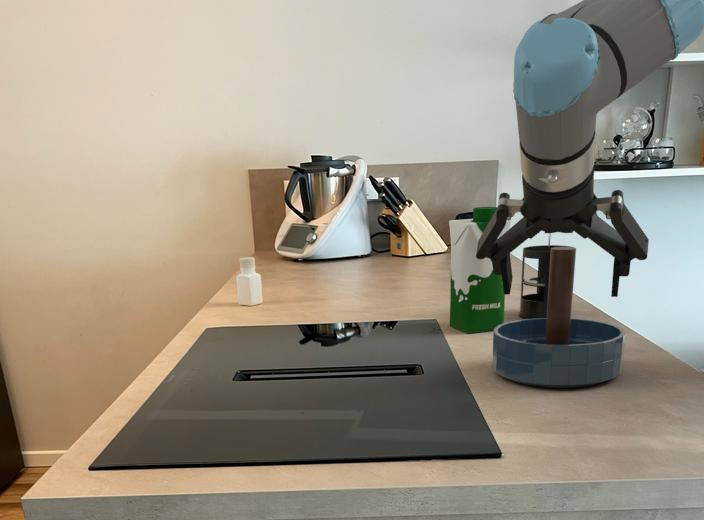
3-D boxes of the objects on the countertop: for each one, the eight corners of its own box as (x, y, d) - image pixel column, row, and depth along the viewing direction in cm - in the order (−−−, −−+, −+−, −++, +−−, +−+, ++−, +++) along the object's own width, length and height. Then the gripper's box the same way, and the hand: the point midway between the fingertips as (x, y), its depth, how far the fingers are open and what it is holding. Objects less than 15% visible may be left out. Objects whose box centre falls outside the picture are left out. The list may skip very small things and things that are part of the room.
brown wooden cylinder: (571, 363, 110) (581, 245, 104) (574, 372, 106) (584, 250, 100) (536, 363, 111) (543, 246, 105) (537, 372, 107) (545, 250, 100)
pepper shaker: (237, 305, 166) (233, 259, 162) (249, 302, 169) (246, 256, 165) (251, 306, 164) (247, 259, 160) (264, 303, 167) (260, 257, 163)
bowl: (612, 358, 115) (616, 317, 112) (628, 392, 99) (633, 346, 97) (493, 357, 118) (494, 317, 116) (490, 390, 103) (492, 345, 100)
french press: (575, 321, 139) (586, 182, 130) (521, 322, 140) (528, 184, 131) (565, 308, 150) (574, 179, 141) (515, 309, 151) (521, 181, 142)
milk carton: (464, 335, 132) (467, 210, 124) (442, 325, 140) (443, 207, 132) (511, 330, 134) (517, 207, 126) (486, 320, 142) (490, 204, 134)
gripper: (437, 198, 87) (462, 308, 106) (681, 194, 79) (660, 314, 98) (448, 145, 89) (470, 262, 108) (685, 136, 81) (664, 264, 100)
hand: (560, 287), depth 103 cm, fingers open, 13 cm apart
